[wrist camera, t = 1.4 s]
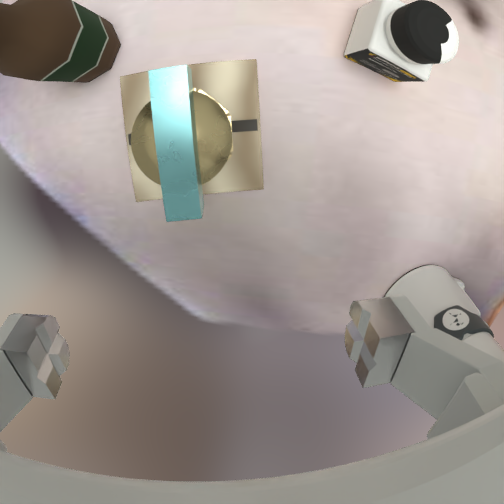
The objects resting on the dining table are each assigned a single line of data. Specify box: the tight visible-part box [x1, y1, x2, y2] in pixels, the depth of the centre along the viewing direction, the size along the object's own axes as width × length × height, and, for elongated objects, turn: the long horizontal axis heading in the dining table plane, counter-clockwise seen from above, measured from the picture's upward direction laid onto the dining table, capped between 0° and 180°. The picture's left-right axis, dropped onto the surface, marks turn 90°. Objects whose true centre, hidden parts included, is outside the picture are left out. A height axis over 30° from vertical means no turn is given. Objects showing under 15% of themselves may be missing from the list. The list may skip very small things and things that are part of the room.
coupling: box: [131, 65, 233, 222], centre depth 25 cm, size 8×11×10 cm
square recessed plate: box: [120, 59, 263, 202], centre depth 29 cm, size 14×14×6 cm
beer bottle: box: [0, 0, 121, 82], centre depth 15 cm, size 8×8×24 cm
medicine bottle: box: [344, 0, 459, 82], centre depth 23 cm, size 7×7×12 cm
